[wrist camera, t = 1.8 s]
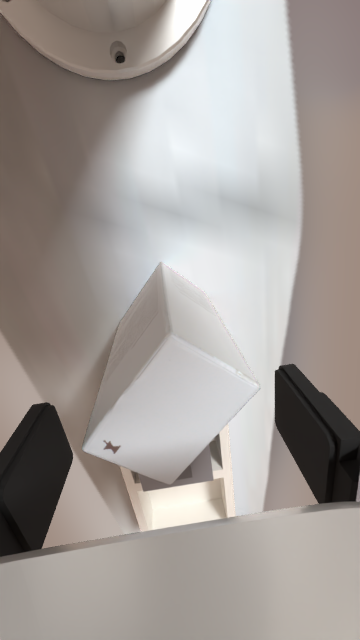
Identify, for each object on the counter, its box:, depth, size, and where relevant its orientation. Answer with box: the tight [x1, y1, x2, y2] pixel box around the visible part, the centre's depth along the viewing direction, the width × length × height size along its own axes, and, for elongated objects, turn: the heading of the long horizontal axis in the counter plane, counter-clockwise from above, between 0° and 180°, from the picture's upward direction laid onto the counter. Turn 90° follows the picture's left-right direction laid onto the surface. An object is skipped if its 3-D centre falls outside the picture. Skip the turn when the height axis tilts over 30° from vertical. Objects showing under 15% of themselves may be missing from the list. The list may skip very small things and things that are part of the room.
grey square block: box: [138, 444, 214, 492], centre depth 21 cm, size 6×6×5 cm
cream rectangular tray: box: [120, 424, 236, 532], centre depth 24 cm, size 18×9×4 cm, turn 8°
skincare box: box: [82, 262, 260, 484], centre depth 15 cm, size 6×4×12 cm
